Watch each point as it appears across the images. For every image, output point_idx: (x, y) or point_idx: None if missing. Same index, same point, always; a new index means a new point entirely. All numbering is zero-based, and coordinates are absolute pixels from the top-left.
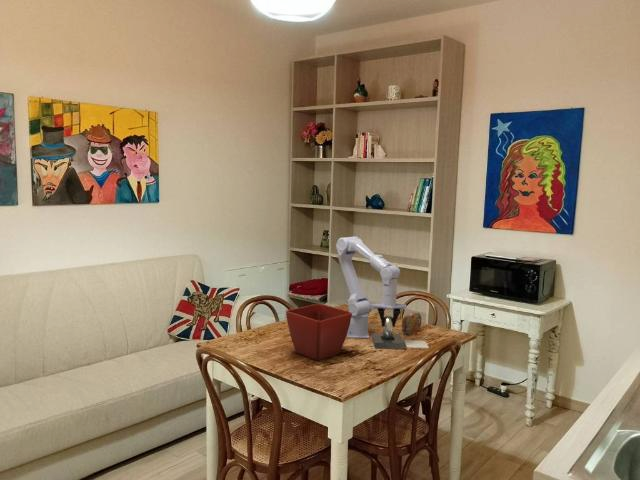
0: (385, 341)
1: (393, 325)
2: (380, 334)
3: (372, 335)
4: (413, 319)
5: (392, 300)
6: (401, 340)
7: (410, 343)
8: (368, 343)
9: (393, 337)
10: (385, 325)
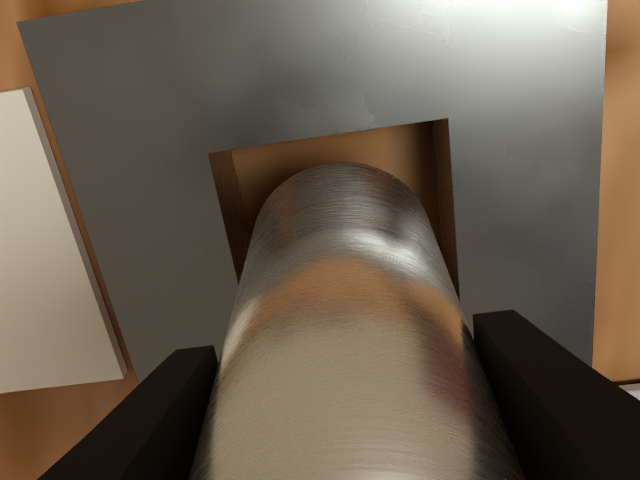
0: (384, 48)
1: (196, 359)
2: None
3: (589, 352)
4: None
5: None
6: (96, 176)
7: (9, 267)
8: (632, 181)
9: None
10: (435, 306)
